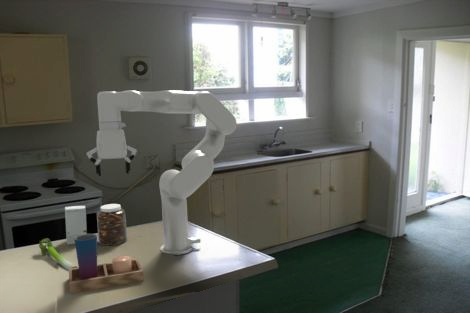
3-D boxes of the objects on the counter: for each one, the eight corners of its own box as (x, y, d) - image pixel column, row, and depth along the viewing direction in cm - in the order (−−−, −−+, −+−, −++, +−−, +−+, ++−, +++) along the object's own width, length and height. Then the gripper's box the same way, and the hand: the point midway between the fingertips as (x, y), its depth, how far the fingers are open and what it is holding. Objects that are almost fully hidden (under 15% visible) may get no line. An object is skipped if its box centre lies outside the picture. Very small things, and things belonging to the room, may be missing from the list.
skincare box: (67, 245, 179) (64, 210, 177) (66, 240, 185) (63, 206, 182) (88, 242, 182) (85, 207, 180) (87, 237, 188) (84, 204, 186)
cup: (93, 286, 136) (90, 240, 134) (73, 285, 138) (70, 240, 136) (104, 278, 143) (100, 234, 141) (85, 277, 144) (81, 233, 142)
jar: (133, 240, 183) (130, 205, 181) (108, 247, 174) (106, 211, 172) (116, 234, 191) (114, 201, 189) (92, 242, 182) (90, 207, 180)
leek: (64, 280, 149) (33, 252, 171) (83, 277, 154) (52, 250, 175) (65, 263, 148) (35, 237, 170) (85, 260, 153) (53, 235, 175)
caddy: (137, 269, 152) (137, 258, 151) (143, 282, 140) (142, 271, 140) (70, 280, 144) (69, 268, 143) (70, 295, 133) (69, 283, 132)
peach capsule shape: (130, 271, 148) (129, 254, 147) (133, 278, 142) (132, 260, 141) (112, 274, 146) (111, 257, 145) (114, 281, 140) (113, 263, 139)
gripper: (133, 124, 160) (136, 170, 162) (84, 127, 154) (87, 174, 156) (136, 126, 153) (139, 173, 155) (84, 128, 147) (88, 178, 149)
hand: (113, 174), depth 156 cm, fingers open, 9 cm apart
